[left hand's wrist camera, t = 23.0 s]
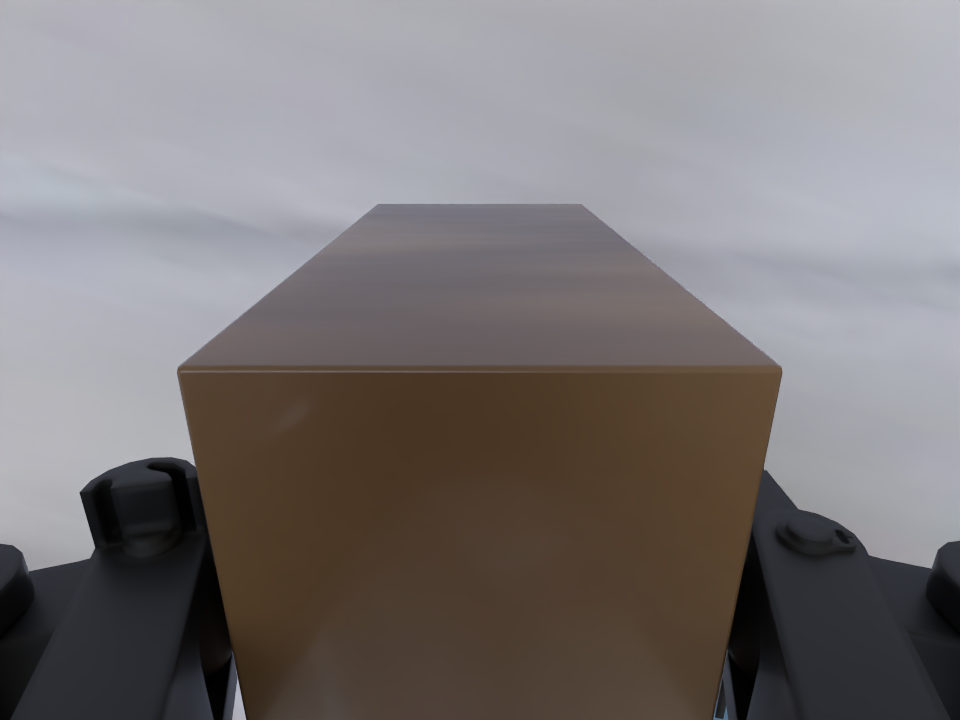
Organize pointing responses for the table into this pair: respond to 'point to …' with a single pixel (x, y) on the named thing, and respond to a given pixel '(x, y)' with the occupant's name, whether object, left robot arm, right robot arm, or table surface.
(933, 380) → the table surface
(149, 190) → the table surface
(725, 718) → the right robot arm
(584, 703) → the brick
